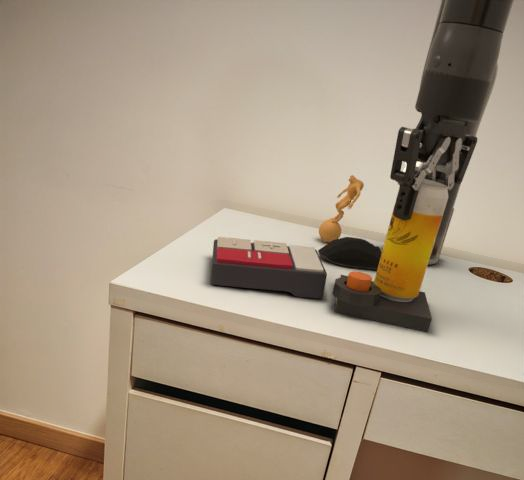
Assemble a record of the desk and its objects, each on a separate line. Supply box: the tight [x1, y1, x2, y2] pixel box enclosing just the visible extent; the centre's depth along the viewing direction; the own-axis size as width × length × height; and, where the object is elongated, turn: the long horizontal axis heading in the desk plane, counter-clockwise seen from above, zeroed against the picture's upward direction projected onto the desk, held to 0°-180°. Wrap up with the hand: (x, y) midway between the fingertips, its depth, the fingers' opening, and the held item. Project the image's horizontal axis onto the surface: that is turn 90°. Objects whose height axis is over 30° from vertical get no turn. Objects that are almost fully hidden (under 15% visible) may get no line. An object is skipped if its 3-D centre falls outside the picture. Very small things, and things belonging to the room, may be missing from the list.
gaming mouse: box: [317, 236, 382, 271], centre depth 95 cm, size 6×15×4 cm, turn 95°
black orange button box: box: [332, 274, 433, 333], centre depth 77 cm, size 11×13×4 cm
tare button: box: [346, 270, 373, 291], centre depth 74 cm, size 3×3×2 cm
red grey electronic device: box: [210, 236, 328, 300], centre depth 81 cm, size 11×4×15 cm
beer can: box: [373, 177, 448, 302], centre depth 75 cm, size 6×6×15 cm
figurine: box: [318, 174, 365, 243], centre depth 102 cm, size 8×6×12 cm
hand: (416, 217), depth 74 cm, fingers closed on beer can, 6 cm apart
